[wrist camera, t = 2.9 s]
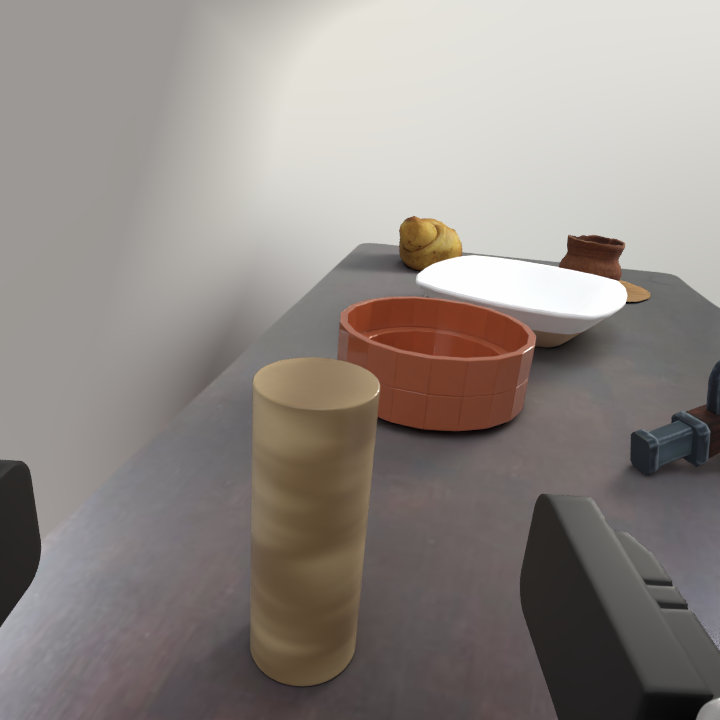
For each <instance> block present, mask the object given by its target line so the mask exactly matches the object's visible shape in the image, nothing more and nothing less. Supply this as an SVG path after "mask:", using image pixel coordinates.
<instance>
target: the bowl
mask: <svg viewBox="0 0 720 720" xmlns="http://www.w3.org/2000/svg"><path fill="white" fill-rule="evenodd" d="M416 284H417V285H418V286H419V287H420V288H421V289H422V290H423V291H424V293H425V294H426V295H427V296H428V297H429V298H441V299H448V300H454V301H460V302H466V303H471V304H475V305H479V306H483V307H487V308H490V309H493V310H496V311H499V312H501V313H504V314H507V315H509V316H512V317H514V318H516V319H517V320H519V321H521V322H522V323H524V324H526V325H527V326H529V327H530V329H531V330H532V331H533V332H534V334H535V335H536V343H535V346H538V347H549V348H550V347H555V346H559V345H561V344H563V343H565V342H566V341H568V340H570V339H572V338H573V337H575V336H577V335H578V334H580V333H581V332H583V331H585V330H587V329H589V328H590V327H592V326H594V325H595V324H597V323H599V322H600V321H602V320H604V319H605V318H607V317H609V316H610V315H612V314H614V313H615V312H617V311H618V310H620V309H621V308H622V307H623V306H624V305H625V304H626V300H627V292H626V289H625V287H624V286H623V285H622V284H620V283H619V282H618V281H616V280H613V279H609V278H605V277H601V276H597V275H593V274H588V273H584V272H579V271H574V270H569V269H564V268H559V267H553V266H548V265H542V264H536V263H530V262H523V261H517V260H510V259H503V258H495V257H485V256H475V255H471V256H462V257H456V258H452V259H447V260H444V261H441V262H438V263H435V264H432V265H430V266H429V267H427V268H425V269H424V270H423V271H421V272H420V273H419V274H418V275H417V277H416Z"/></svg>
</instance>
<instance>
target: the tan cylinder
mask: <svg viewBox="0 0 720 720" xmlns="http://www.w3.org/2000/svg"><path fill="white" fill-rule="evenodd" d="M379 397H380V383H379V381H378V379H377V378H376V377H375V375H373V374H372V373H371V372H370V371H368V370H366V369H364V368H362V367H360V366H358V365H355V364H352V363H349V362H345V361H341V360H335V359H329V358H315V357H305V358H293V359H286V360H281V361H277V362H274V363H271V364H269V365H267V366H265V367H263V368H262V369H260V370H259V371H258V372H257V373H256V374H255V376H254V378H253V404H252V499H251V593H250V650H251V654H252V657H253V659H254V661H255V663H256V664H257V666H258V667H259V668H260V669H261V671H263V672H264V673H265V674H266V675H267V676H269V677H270V678H272V679H274V680H276V681H278V682H281V683H283V684H287V685H292V686H312V685H317V684H321V683H323V682H326V681H328V680H330V679H332V678H334V677H335V676H337V675H338V674H340V673H341V672H342V671H343V670H344V669H345V668H346V666H347V665H348V664H349V662H350V661H351V659H352V657H353V654H354V651H355V644H356V634H357V624H358V613H359V603H360V593H361V583H362V572H363V562H364V552H365V541H366V531H367V521H368V510H369V500H370V490H371V479H372V469H373V459H374V448H375V438H376V428H377V417H378V407H379Z"/></svg>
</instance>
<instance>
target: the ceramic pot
mask: <svg viewBox="0 0 720 720" xmlns="http://www.w3.org/2000/svg"><path fill="white" fill-rule="evenodd" d="M567 248H568V252H567V254H566V256H565V257H564V258H563V259H562V260H561V262H560V264H559V268H564V269H569V270H574V271H579V272H584V273H588V274H593V275H597V276H601V277H605V278H609V279H613V280H616V281H618V282H619V283H620V284H622V285H623V286H624V287H625V289H626V292H627V300H626V301H627V302H631V301H633V302H637V301H642V300H645V299H649V297H651V296H650V295H651V294H649V292H648V291H647V290H646V289H643V288H642V287H639V286H635V285H634V284H630V283H628V282H625V281H621V280H620V278H621V275H622V273H621V267H620V265H619V261H618V259H619V257H620V255H621V254H622V252H623V250H624V248H625V243H624V242H622V241H619V240H617V239H610V238H605V237H601V236H597V235H591V236H584V235H583V236H580V237H576V236H571V235H568V242H567Z"/></svg>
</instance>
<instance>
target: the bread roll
mask: <svg viewBox="0 0 720 720" xmlns="http://www.w3.org/2000/svg"><path fill="white" fill-rule="evenodd" d="M399 232H400V245H399V248H400V250H399V251H400V257H401V259H402V261H403V263H405V264H406V265H407V266H409V267H411V268H412V269H415V270H422V271H423V270H424V269H425V268H427V267H429V266H430V265H432V264H435V263H438V262H441V261H444V260H447V259H452V258H456V257H461V256H462V245H461V241H460V239H459V237H458V235H457V233H456V232H455V230H454V229H451V228H449V227H447V226H446V225H445V224H443V223H442V222H440V221H437V220H435V219H419V218H417V217H415V216H413V217H410V218H407V219H406V220H405V221H404V222H403V223H402V224H401V226H400V230H399Z"/></svg>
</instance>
